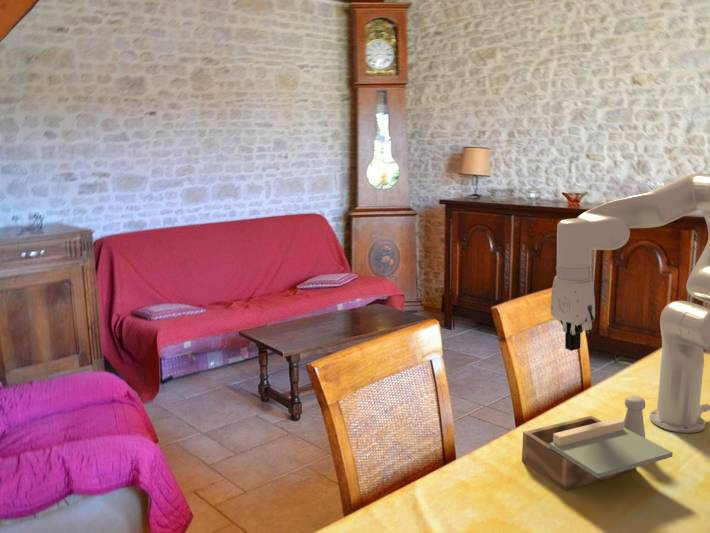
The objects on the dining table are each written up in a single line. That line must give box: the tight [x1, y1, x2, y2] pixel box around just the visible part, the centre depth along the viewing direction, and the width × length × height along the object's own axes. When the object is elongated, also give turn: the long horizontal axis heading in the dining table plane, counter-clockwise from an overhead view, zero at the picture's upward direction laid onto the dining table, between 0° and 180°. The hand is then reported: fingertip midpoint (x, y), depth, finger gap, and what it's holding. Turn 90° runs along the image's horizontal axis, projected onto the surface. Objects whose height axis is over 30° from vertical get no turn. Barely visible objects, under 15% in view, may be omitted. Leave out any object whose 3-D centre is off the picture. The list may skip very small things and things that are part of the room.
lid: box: [549, 417, 673, 478], centre depth 133 cm, size 20×14×3 cm
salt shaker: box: [623, 395, 646, 438], centre depth 148 cm, size 6×6×13 cm
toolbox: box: [521, 415, 638, 492], centre depth 142 cm, size 20×14×7 cm
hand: (572, 348), depth 151 cm, fingers closed
